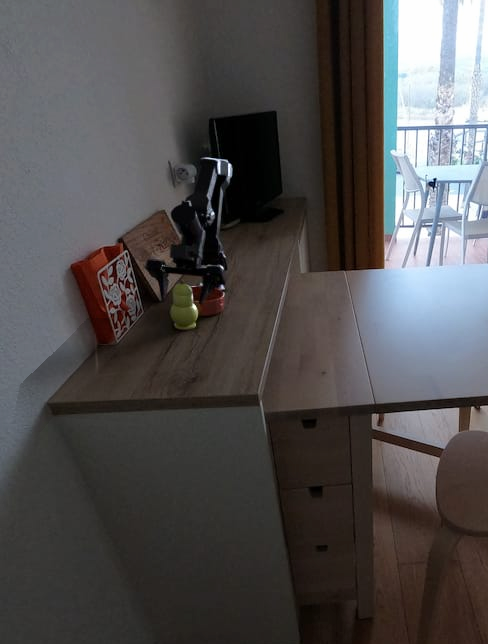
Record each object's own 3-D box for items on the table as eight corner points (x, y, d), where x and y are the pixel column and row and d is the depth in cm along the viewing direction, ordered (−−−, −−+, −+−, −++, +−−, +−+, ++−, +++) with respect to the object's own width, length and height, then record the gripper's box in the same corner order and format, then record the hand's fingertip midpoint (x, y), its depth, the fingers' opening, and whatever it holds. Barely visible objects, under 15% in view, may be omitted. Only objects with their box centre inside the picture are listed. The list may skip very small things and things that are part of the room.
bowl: (175, 301, 130) (174, 286, 128) (219, 299, 136) (218, 284, 134) (182, 319, 121) (181, 303, 119) (229, 315, 127) (228, 300, 124)
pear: (169, 321, 119) (165, 274, 113) (196, 319, 122) (193, 273, 116) (173, 332, 114) (168, 284, 108) (200, 329, 117) (198, 282, 111)
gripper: (143, 225, 110) (130, 284, 105) (222, 233, 111) (213, 292, 107) (158, 249, 120) (146, 304, 116) (230, 256, 122) (222, 311, 118)
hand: (181, 302), depth 114 cm, fingers open, 9 cm apart
